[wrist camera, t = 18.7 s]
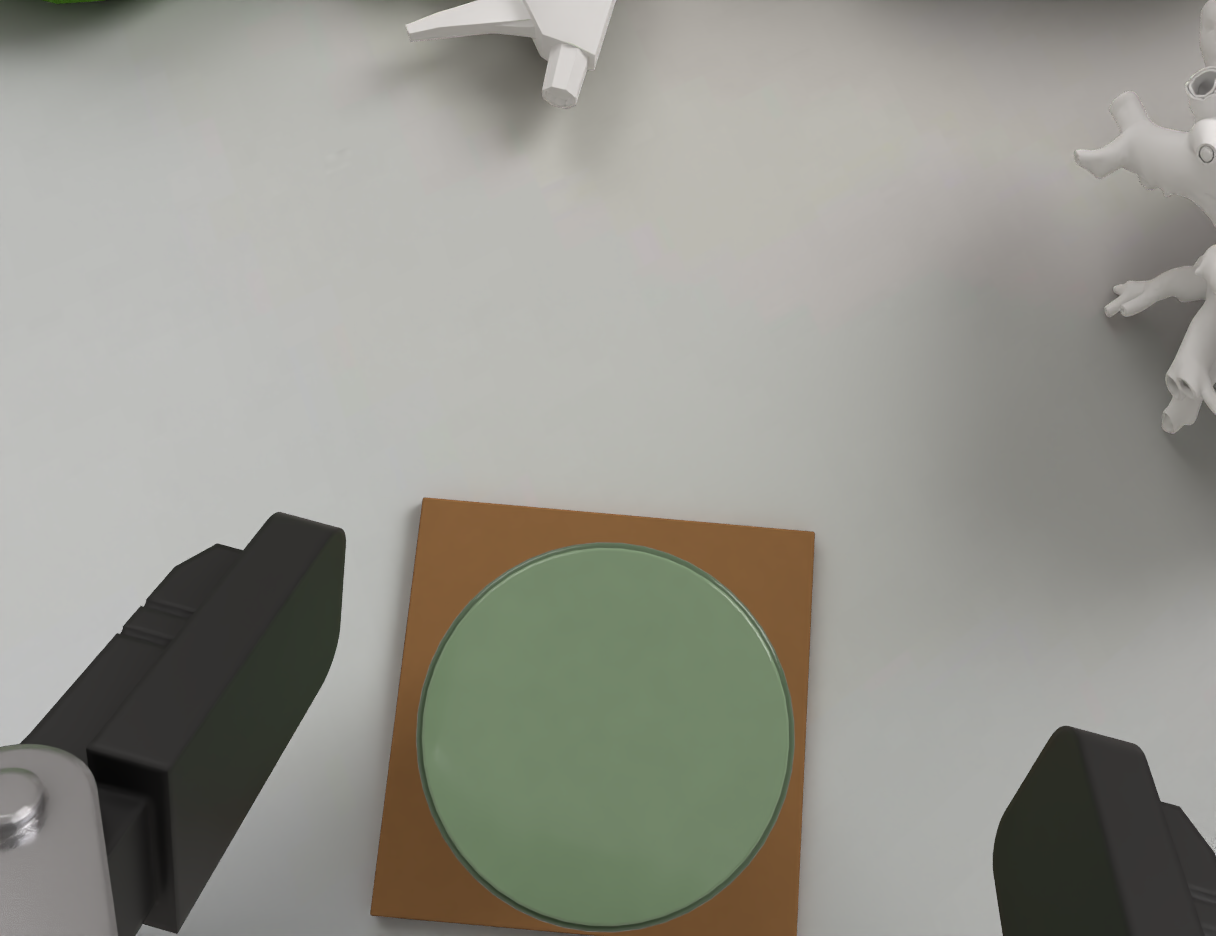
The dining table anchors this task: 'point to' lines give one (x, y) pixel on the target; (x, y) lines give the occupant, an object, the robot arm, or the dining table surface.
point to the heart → (1177, 164)
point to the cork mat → (482, 551)
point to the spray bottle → (527, 34)
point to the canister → (605, 737)
